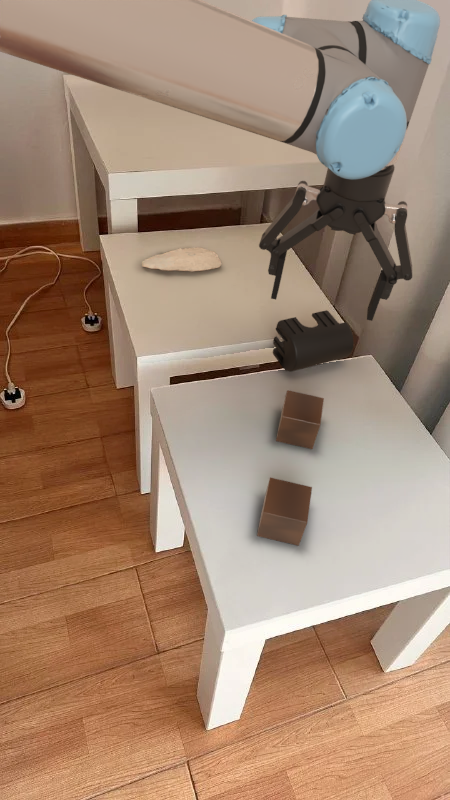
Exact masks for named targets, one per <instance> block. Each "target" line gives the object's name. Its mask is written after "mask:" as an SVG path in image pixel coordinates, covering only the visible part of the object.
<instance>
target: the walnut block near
mask: <svg viewBox="0 0 450 800" xmlns="http://www.w3.org/2000/svg"><path fill="white" fill-rule="evenodd" d="M312 491H313V486H309V485H305V484H300V483H296V482H292V481H287V480H283V479H279V478H275V477H269V480H268V483H267V487H266V491H265V494H264V495H265V496H264V499H263V503H262V508H261V513H260V518H259V523H258V528H257V533H256V536H257V537H260V538H264V539H268V540H273V541H277V542H281V543H285V544H288V545H289V544H290V545H293V546H297V547H298V546H299V547H300V544H301V541H302V538H303V536H304V533H305V531H306V527H307V524H308V520H309V513H310V507H311V506H310V505H311V498H312Z"/></svg>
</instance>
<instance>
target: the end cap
mask: <svg viewBox="0 0 450 800" xmlns="http://www.w3.org/2000/svg"><path fill="white" fill-rule="evenodd" d="M311 317H312V318H313V319H314V320H315V321H316V323H317V325H315V326H313V327H311V326H306V325H304V324H302V323H301V322H300V320H299V319H298V318H297V316H295V317H294V316H293V317H290V318H285V319H281V320H279V321H278V322H277V323H276V327H275V331H276V333H277V335H278V336H279V337H280V338H281V339H280V338H279V337H278V336H277V335H276V336H274V337H273V340H272V341H273V342H272V344H273V347H275V348H273V350H272V354H273V356H274V357H275V359H276V360H277V363H279V365H280V366H281V368H283V370H284V371H286V372H295V371H299V370H303V369H306V368H310V367H315V366H318V365H322V364H325V363H330V362H333V361H337V360H338V361H339V360H341V359H345V358H348V357H349V356H351V354H352V352H353V350H354V344H355V343H354V335H353V332H352V329H351V327H350V324H348V322H347V321H346V322H338V320H336V318H335V317H334V316H333V315H332V313H331V312H330V311H329V310H327V309H326V310H321V311H316V312H313V313H311ZM281 340H282V341H281Z"/></svg>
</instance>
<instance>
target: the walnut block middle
mask: <svg viewBox="0 0 450 800" xmlns="http://www.w3.org/2000/svg"><path fill="white" fill-rule="evenodd" d="M324 400H325V398H324V397H320V396H316V395H312V394H308V393H302V392H298V391H293V390H289V389H288V390H286V393H285V397H284V402H283V406H282V409H281V413H280V417H279V423H278V428H277V433H276V439H275V441H276V442H279V443H283V444H287V445H291V446H292V445H293V446H295V447H299V448H305V449H310V450H313V449H314V446H315V442H316V440H317V436H318V434H319V430H320V427H321V423H322V415H323V408H324V402H325V401H324Z"/></svg>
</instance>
